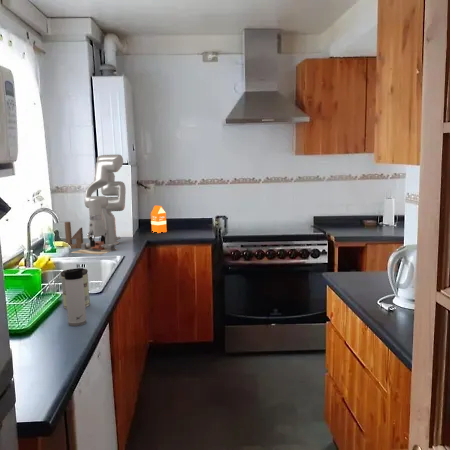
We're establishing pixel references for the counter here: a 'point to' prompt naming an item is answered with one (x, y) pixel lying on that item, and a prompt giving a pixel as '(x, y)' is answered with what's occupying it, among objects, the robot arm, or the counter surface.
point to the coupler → (99, 245)
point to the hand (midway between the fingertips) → (98, 245)
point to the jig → (88, 249)
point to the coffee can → (86, 288)
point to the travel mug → (75, 297)
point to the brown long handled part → (77, 236)
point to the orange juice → (158, 219)
